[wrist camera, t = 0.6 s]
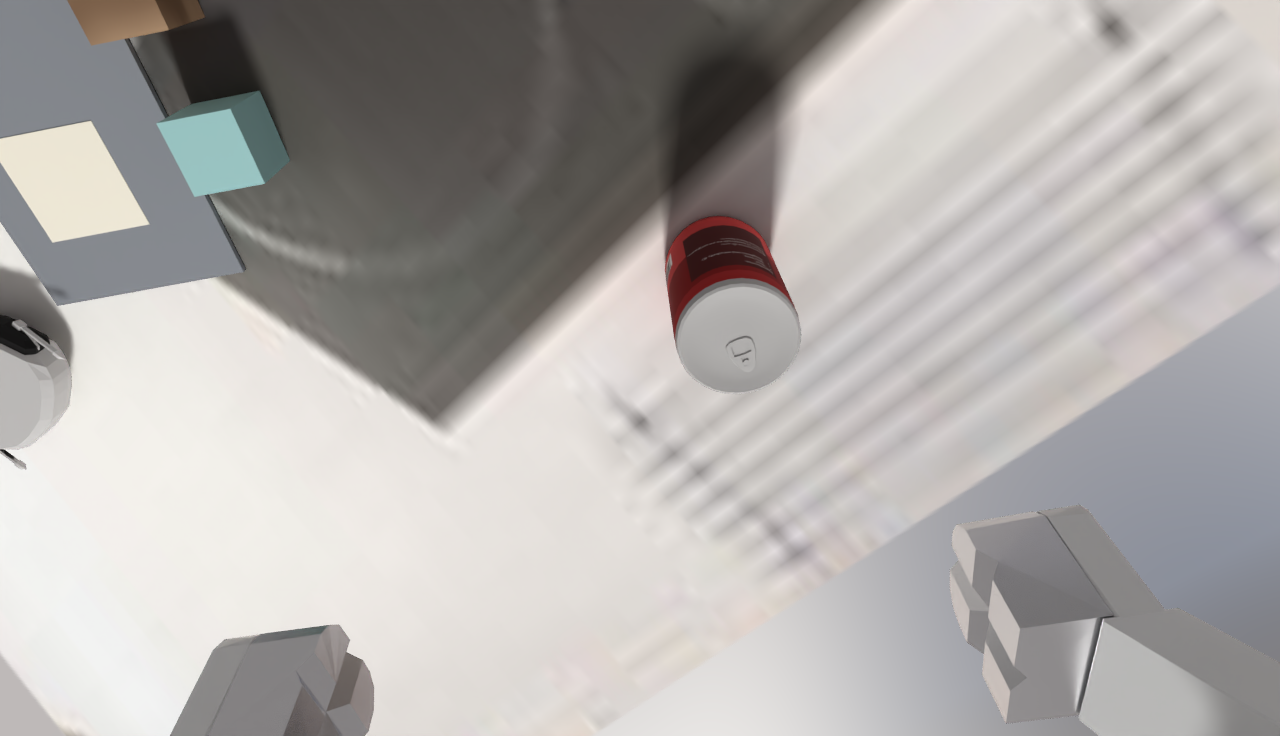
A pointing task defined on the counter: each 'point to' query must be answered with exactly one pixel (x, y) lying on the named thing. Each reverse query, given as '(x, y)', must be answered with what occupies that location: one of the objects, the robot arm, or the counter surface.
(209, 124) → the teal block
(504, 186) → the counter surface
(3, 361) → the robot toy
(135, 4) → the walnut block
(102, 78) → the mat
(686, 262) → the canned food
